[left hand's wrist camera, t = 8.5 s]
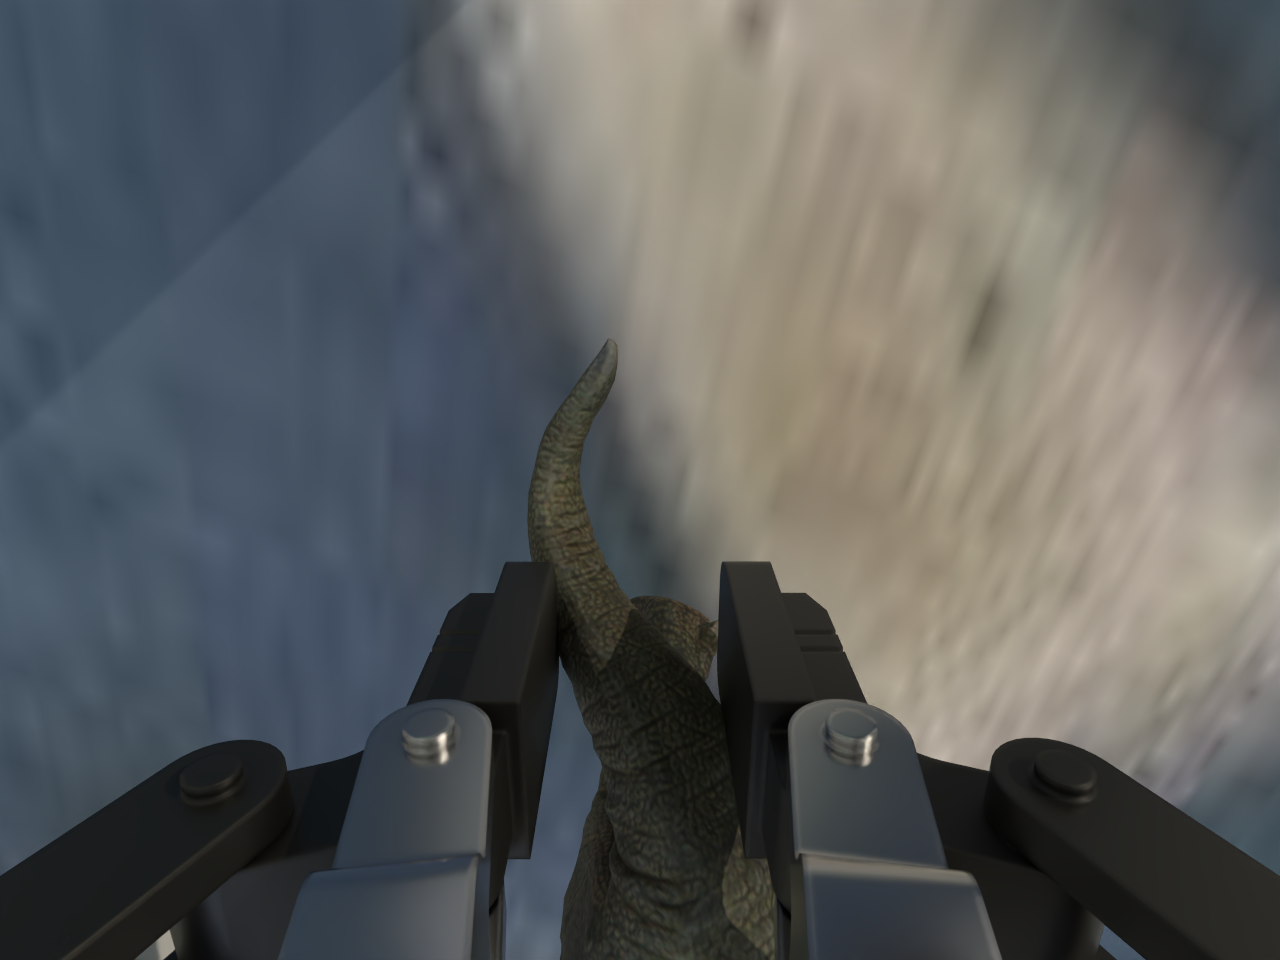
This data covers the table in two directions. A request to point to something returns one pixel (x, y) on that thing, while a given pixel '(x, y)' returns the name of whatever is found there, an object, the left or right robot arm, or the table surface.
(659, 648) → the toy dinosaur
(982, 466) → the table surface
